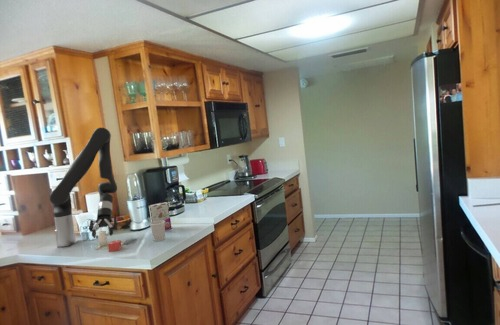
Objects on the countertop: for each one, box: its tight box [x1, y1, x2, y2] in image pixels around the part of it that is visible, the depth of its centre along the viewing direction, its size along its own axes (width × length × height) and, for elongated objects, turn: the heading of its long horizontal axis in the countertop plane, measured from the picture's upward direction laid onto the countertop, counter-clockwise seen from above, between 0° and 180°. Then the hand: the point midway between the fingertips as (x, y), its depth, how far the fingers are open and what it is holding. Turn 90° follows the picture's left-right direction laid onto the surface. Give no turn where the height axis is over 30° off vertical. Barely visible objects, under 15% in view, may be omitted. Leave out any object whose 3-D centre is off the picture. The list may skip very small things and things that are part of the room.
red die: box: [108, 239, 122, 252], centre depth 174 cm, size 5×5×5 cm
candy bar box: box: [148, 201, 172, 231], centre depth 207 cm, size 11×5×16 cm, turn 117°
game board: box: [94, 237, 139, 251], centre depth 184 cm, size 21×12×1 cm, turn 99°
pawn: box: [97, 230, 108, 247], centre depth 182 cm, size 4×4×8 cm
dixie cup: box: [149, 220, 166, 242], centre depth 187 cm, size 8×8×10 cm
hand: (102, 236), depth 182 cm, fingers open, 8 cm apart
